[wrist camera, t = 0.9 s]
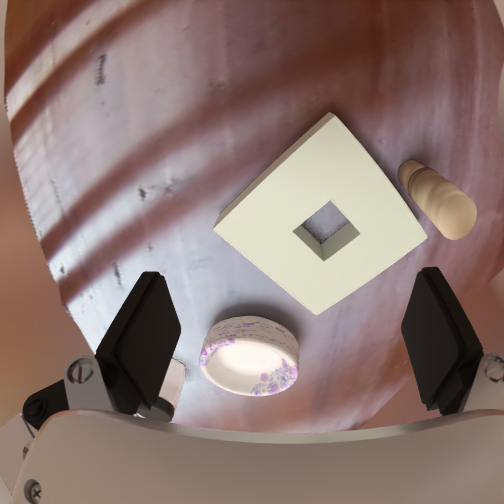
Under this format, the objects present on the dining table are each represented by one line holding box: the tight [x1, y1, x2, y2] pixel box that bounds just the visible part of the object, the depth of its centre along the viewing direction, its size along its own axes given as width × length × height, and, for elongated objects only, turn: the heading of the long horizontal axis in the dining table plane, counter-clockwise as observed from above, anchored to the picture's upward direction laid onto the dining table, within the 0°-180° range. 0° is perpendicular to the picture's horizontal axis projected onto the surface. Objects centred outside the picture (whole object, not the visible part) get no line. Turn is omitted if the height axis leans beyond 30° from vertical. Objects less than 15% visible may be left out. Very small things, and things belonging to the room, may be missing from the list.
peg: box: [398, 160, 477, 240], centre depth 25 cm, size 4×4×12 cm
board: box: [213, 112, 428, 315], centre depth 33 cm, size 18×18×4 cm
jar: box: [137, 358, 186, 422], centre depth 51 cm, size 9×8×12 cm
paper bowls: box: [199, 316, 299, 396], centre depth 44 cm, size 15×15×8 cm
